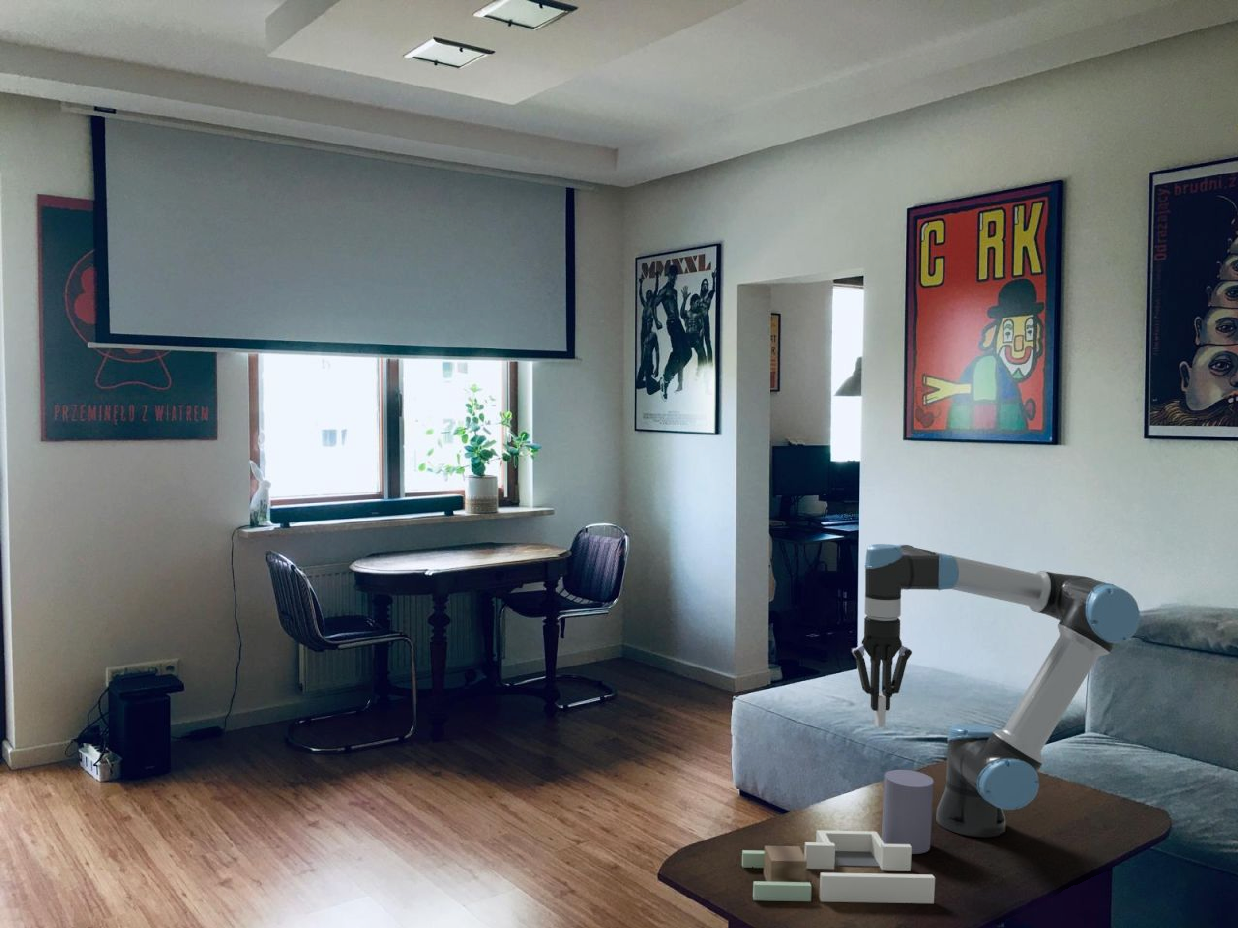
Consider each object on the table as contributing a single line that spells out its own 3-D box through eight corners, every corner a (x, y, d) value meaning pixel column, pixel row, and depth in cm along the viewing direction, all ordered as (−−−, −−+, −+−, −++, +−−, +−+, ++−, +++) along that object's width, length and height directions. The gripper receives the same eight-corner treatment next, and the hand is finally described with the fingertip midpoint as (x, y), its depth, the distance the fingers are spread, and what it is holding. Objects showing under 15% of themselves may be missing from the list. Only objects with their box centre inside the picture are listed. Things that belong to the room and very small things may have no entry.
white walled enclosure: (895, 849, 222) (897, 827, 221) (933, 903, 198) (935, 877, 197) (795, 847, 221) (796, 825, 220) (821, 901, 197) (822, 875, 197)
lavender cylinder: (895, 856, 218) (898, 787, 218) (873, 836, 228) (876, 770, 228) (939, 853, 220) (942, 785, 220) (915, 834, 231) (918, 768, 230)
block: (797, 874, 208) (799, 846, 208) (805, 890, 201) (806, 861, 201) (763, 874, 208) (764, 845, 207) (770, 890, 201) (771, 860, 200)
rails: (794, 865, 212) (794, 851, 212) (810, 900, 197) (811, 885, 197) (741, 864, 212) (742, 850, 212) (754, 899, 196) (754, 884, 196)
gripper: (905, 613, 224) (903, 719, 225) (847, 613, 223) (845, 720, 224) (918, 620, 216) (915, 729, 217) (857, 620, 215) (855, 730, 216)
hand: (879, 724), depth 221 cm, fingers closed
